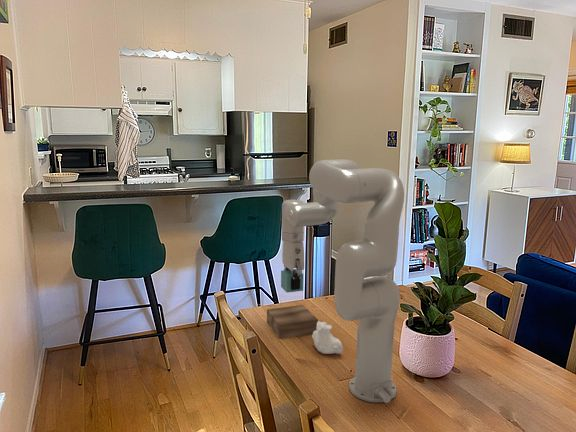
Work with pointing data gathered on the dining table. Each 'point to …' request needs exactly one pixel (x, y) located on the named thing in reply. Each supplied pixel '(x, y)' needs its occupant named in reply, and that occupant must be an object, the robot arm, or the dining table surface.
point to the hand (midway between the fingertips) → (291, 285)
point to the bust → (326, 339)
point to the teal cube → (289, 281)
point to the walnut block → (291, 321)
